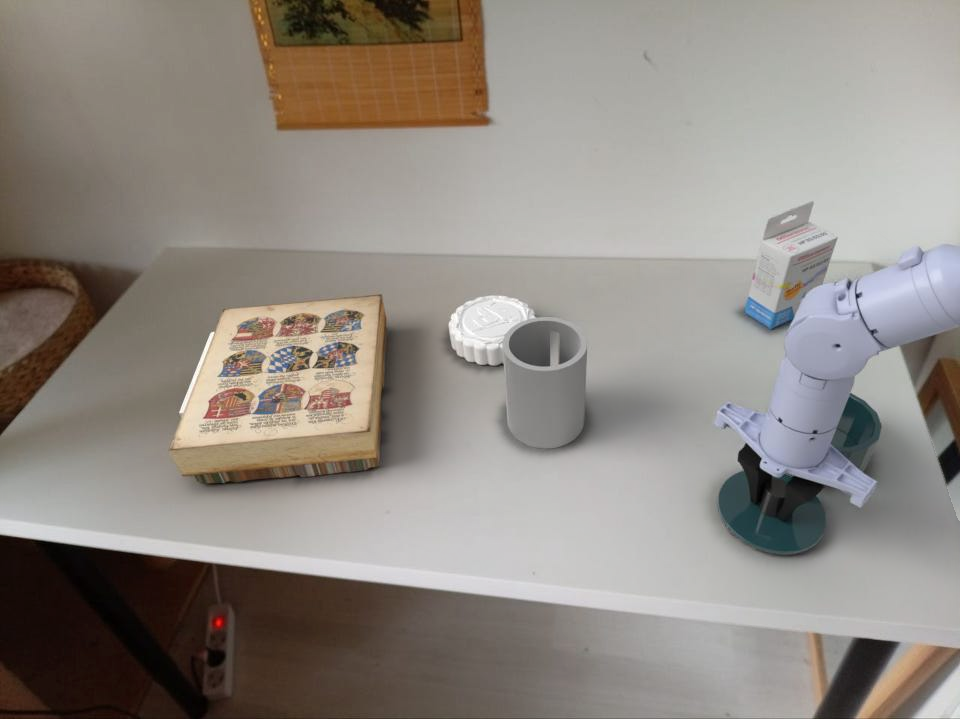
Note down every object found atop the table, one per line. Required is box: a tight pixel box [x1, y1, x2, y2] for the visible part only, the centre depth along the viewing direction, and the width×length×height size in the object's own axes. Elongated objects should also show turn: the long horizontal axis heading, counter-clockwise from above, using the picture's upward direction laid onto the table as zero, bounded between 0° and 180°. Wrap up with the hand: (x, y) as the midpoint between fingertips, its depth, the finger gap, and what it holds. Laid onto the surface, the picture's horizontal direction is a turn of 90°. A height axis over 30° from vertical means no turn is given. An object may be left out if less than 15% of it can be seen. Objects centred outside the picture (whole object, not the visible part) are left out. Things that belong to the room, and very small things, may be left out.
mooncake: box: [448, 294, 537, 367], centre depth 93 cm, size 12×12×4 cm
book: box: [168, 293, 388, 485], centre depth 86 cm, size 25×6×28 cm
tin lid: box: [717, 470, 827, 555], centre depth 68 cm, size 10×10×4 cm
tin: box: [831, 392, 883, 473], centre depth 73 cm, size 10×10×5 cm
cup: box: [503, 316, 588, 450], centre depth 78 cm, size 9×9×12 cm
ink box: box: [744, 200, 839, 330], centre depth 89 cm, size 8×5×15 cm, turn 119°
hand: (771, 505), depth 68 cm, fingers closed on tin lid, 2 cm apart
